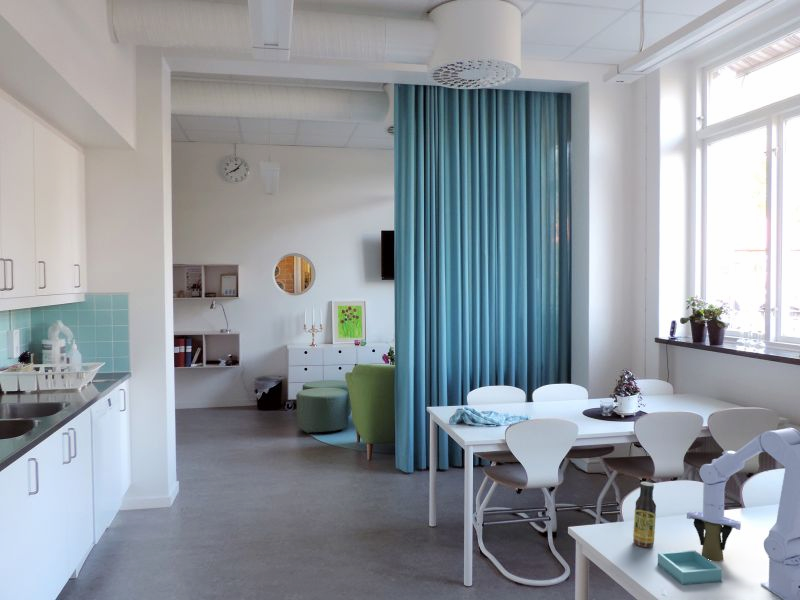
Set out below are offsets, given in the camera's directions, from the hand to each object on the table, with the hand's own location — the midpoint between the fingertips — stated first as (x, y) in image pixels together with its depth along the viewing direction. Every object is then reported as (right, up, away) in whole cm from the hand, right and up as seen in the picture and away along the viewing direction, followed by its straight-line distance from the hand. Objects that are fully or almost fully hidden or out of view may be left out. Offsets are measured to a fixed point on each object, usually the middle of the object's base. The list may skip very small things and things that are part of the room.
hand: (712, 546), depth 182 cm
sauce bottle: (-17, -3, +9) cm, 20 cm away
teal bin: (-12, -4, -10) cm, 16 cm away
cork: (0, -3, 0) cm, 3 cm away
